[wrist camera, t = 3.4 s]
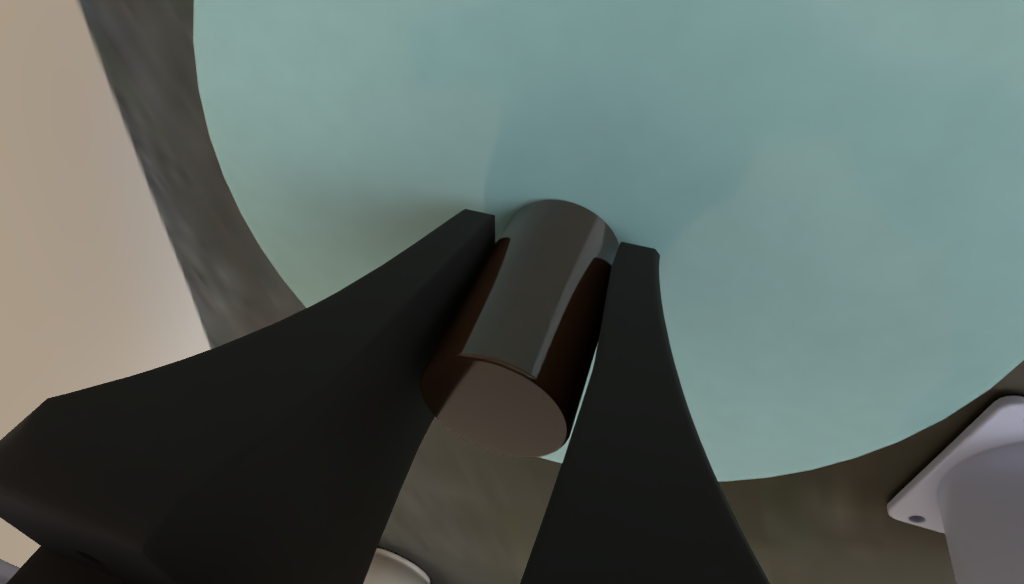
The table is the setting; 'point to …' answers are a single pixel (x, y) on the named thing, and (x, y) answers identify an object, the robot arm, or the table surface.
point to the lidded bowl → (394, 570)
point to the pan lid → (654, 197)
